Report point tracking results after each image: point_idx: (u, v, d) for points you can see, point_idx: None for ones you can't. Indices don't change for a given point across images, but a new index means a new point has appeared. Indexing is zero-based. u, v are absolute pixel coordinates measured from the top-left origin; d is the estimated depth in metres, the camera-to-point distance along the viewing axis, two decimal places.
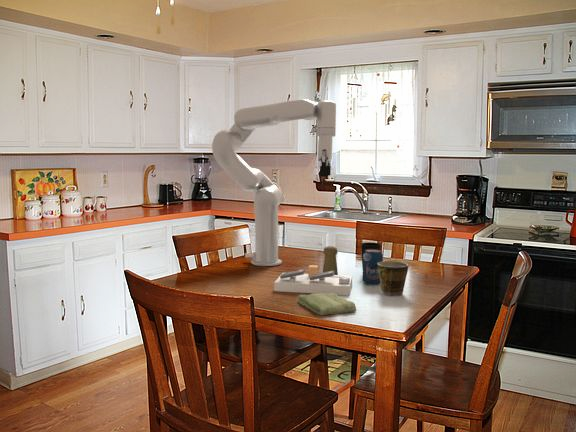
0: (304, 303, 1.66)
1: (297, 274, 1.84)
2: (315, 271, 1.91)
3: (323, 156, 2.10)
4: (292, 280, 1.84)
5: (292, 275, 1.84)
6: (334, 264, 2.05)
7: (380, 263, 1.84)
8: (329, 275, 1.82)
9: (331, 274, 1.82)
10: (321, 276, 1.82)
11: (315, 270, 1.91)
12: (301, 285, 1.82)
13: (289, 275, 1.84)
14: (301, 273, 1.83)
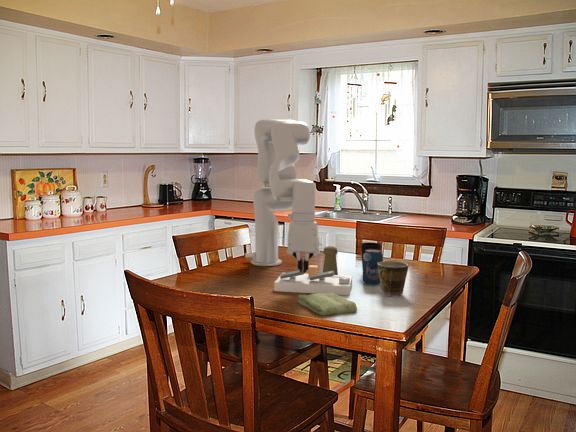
0: (305, 303, 1.66)
1: (297, 274, 1.84)
2: (315, 271, 1.91)
3: (318, 254, 1.84)
4: (292, 280, 1.84)
5: (292, 275, 1.84)
6: (334, 264, 2.05)
7: (380, 263, 1.84)
8: (329, 275, 1.82)
9: (331, 274, 1.82)
10: (321, 276, 1.82)
11: (315, 270, 1.91)
12: (301, 285, 1.82)
13: (289, 275, 1.84)
14: (301, 273, 1.83)
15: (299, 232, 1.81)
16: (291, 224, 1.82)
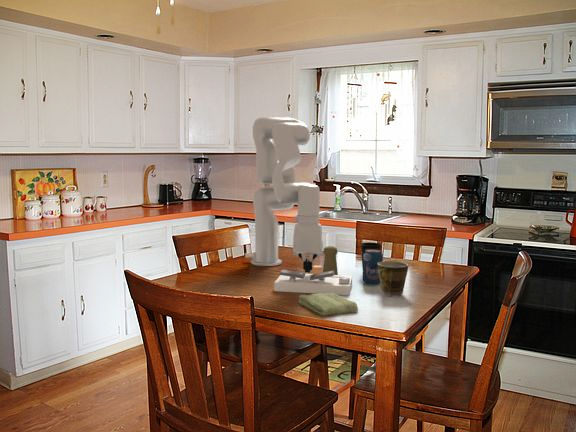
0: (305, 303, 1.66)
1: (297, 276, 1.84)
2: (319, 271, 1.91)
3: (322, 255, 1.92)
4: (292, 280, 1.84)
5: (292, 275, 1.84)
6: (334, 264, 2.05)
7: (380, 263, 1.84)
8: (329, 275, 1.82)
9: (331, 274, 1.82)
10: (321, 276, 1.82)
11: (319, 270, 1.91)
12: (301, 285, 1.82)
13: (289, 274, 1.84)
14: (301, 276, 1.84)
15: (304, 234, 1.89)
16: (296, 226, 1.90)
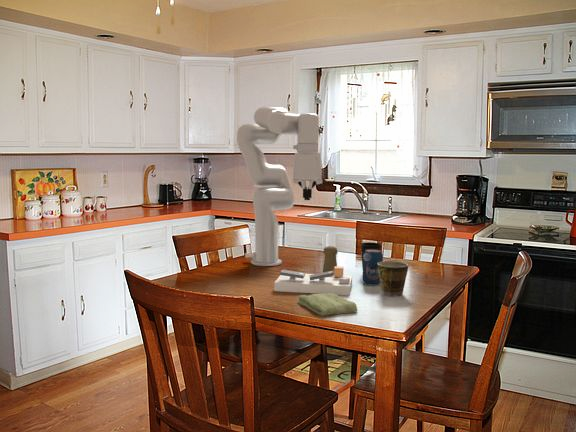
0: (305, 303, 1.66)
1: (297, 276, 1.84)
2: (341, 272, 1.90)
3: None
4: (292, 280, 1.84)
5: (292, 275, 1.84)
6: (334, 264, 2.05)
7: (380, 263, 1.84)
8: (329, 275, 1.82)
9: (331, 274, 1.82)
10: (321, 276, 1.82)
11: (341, 271, 1.90)
12: (301, 285, 1.82)
13: (289, 274, 1.84)
14: (301, 277, 1.84)
15: (304, 161, 1.94)
16: (296, 154, 1.94)
